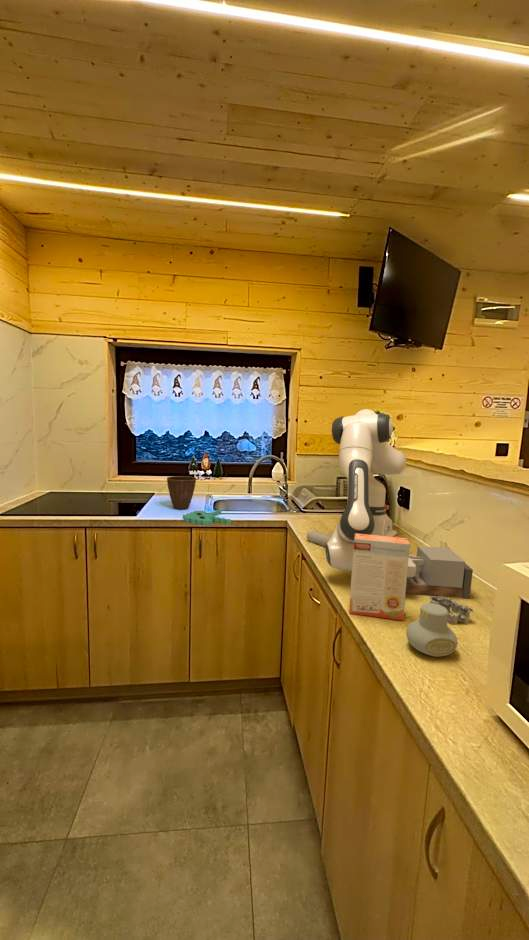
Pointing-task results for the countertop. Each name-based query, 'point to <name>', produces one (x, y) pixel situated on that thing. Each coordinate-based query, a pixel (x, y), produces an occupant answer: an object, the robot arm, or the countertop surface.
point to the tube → (318, 537)
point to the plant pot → (181, 491)
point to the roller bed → (421, 588)
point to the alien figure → (205, 517)
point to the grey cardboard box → (440, 567)
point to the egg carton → (453, 609)
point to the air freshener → (432, 631)
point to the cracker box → (379, 576)
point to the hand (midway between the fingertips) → (422, 561)
